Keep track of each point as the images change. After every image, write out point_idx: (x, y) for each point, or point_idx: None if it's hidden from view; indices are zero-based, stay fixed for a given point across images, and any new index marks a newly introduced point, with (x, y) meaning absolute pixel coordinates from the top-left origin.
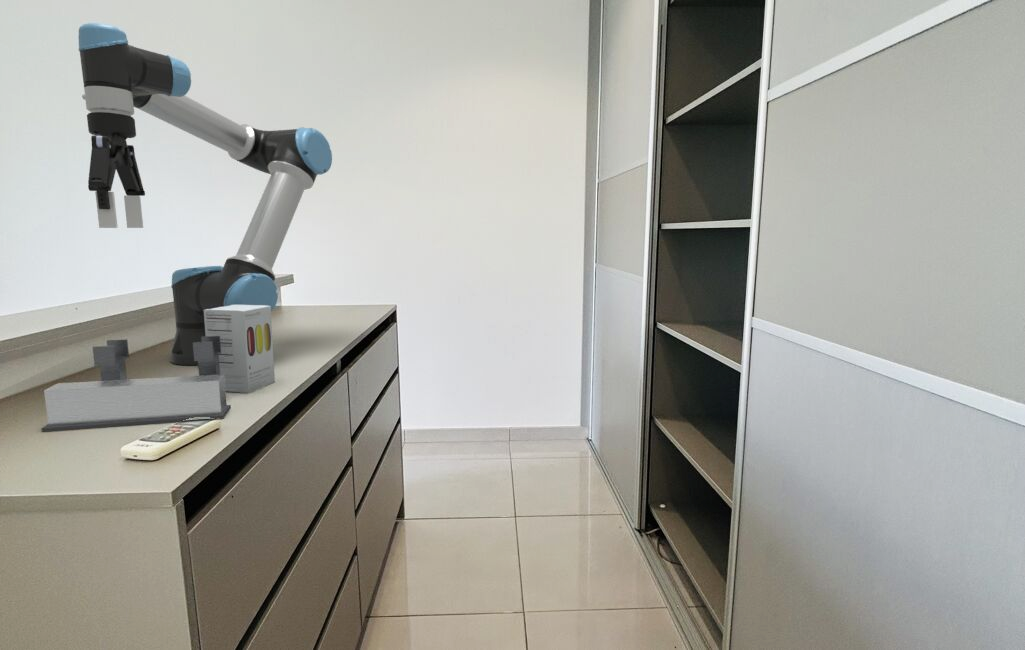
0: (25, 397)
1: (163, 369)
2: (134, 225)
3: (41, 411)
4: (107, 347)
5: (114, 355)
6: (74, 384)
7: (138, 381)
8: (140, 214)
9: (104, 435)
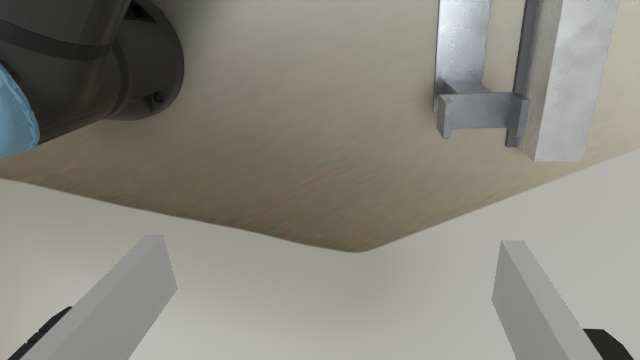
0: (363, 236)
1: (211, 107)
2: (163, 269)
3: (448, 187)
4: (527, 110)
5: (520, 95)
6: (555, 132)
7: (581, 25)
8: (123, 279)
9: (626, 48)
